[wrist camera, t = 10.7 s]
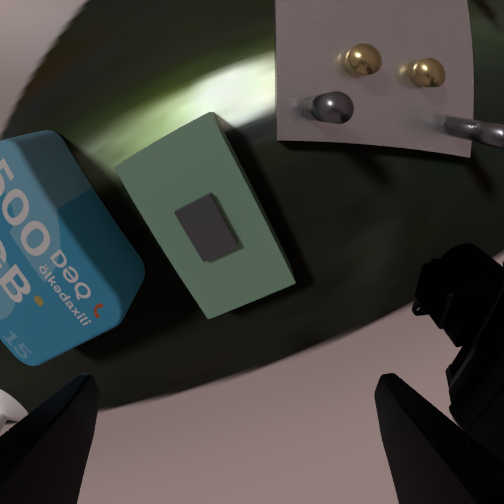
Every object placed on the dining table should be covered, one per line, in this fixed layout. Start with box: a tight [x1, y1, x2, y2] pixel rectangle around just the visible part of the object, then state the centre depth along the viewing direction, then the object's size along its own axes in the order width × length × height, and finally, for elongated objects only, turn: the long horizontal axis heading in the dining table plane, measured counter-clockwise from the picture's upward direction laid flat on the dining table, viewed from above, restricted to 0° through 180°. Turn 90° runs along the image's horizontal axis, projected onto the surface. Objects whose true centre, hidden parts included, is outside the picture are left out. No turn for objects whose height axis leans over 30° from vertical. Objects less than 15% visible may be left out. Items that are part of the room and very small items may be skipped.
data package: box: [0, 130, 145, 366], centre depth 16 cm, size 12×4×12 cm
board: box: [114, 112, 296, 319], centre depth 17 cm, size 6×10×3 cm, turn 26°
